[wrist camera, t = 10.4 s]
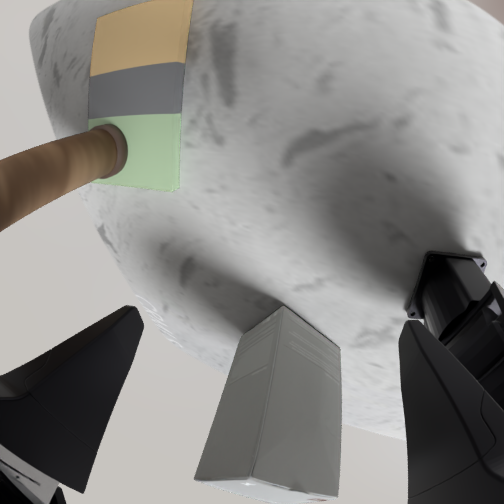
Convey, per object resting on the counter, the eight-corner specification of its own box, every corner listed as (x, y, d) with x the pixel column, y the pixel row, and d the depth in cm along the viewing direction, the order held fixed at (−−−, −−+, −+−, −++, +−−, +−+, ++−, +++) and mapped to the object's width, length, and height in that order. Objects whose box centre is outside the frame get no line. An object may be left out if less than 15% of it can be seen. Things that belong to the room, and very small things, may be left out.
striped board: (105, 19, 15) (97, 18, 14) (193, -3, 13) (186, -8, 12) (99, 179, 23) (91, 183, 22) (179, 187, 21) (171, 192, 20)
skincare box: (241, 332, 27) (180, 476, 14) (291, 297, 23) (241, 480, 10) (299, 374, 28) (268, 507, 15) (350, 347, 25) (339, 505, 11)
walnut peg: (84, 137, 19) (-42, 188, 8) (117, 114, 18) (-30, 156, 7) (100, 182, 21) (-19, 252, 10) (135, 164, 20) (-4, 237, 9)
